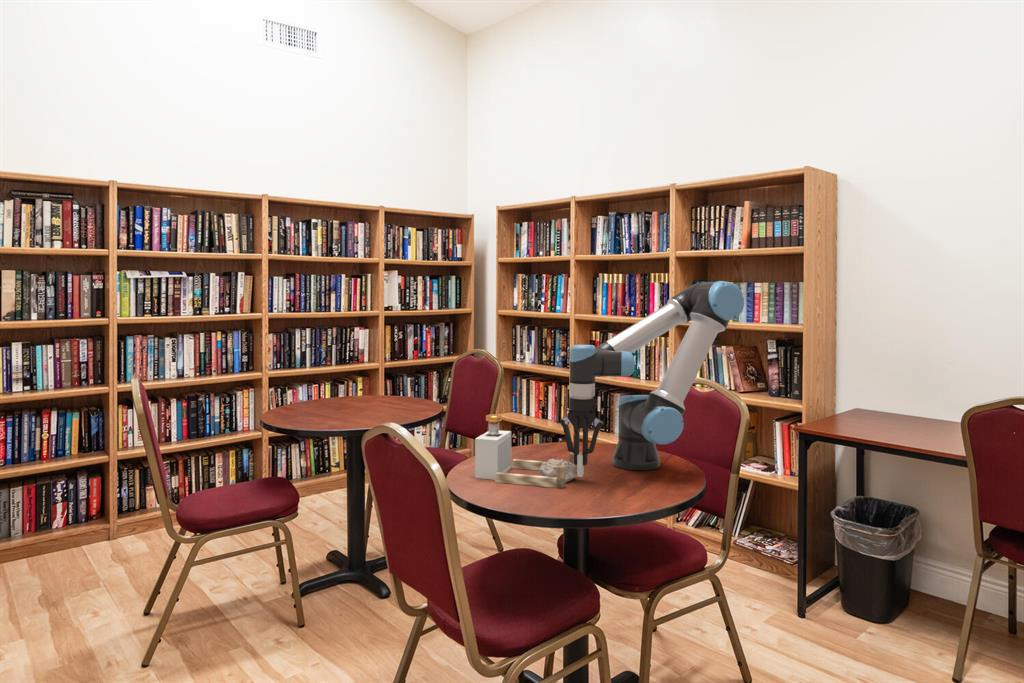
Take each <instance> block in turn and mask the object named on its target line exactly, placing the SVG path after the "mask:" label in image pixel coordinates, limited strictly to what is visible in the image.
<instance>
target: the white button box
mask: <svg viewBox="0 0 1024 683" xmlns="http://www.w3.org/2000/svg"><path fill="white" fill-rule="evenodd" d="M474 445H475V448H474V461H475V462H474V468H475V469H474V478H475V479H482V480H483V479H484V480H494V481H495V474H496V473H497V472H502V473H508V472H509V471H510V470H511V469H512V431H511V430H500V429H499V437H495V436H489V430H488V431H485V433H483V434H480V435H478V436H477V437H476V438H475V439H474Z"/></svg>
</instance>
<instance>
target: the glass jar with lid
mask: <svg viewBox="0 0 1024 683" xmlns="http://www.w3.org/2000/svg"><path fill="white" fill-rule="evenodd" d="M502 419H503V418H502V415H501V414H496V413H493V414H492V413H491V414H486V415H485V421H486V422H488V431H489V436H495V437H499V430H500V422H501V421H502Z"/></svg>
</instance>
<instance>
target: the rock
mask: <svg viewBox="0 0 1024 683" xmlns="http://www.w3.org/2000/svg"><path fill="white" fill-rule="evenodd" d="M557 466H565V484H566V483H568V482H570V481H572V480H573V479H575V478H577V470H576V466H575V465H574V464H572V463H570V462H569V461H567V460H564V459H563V458H562V459H558V458H557V459H554V458H549V459H547V460H546V463H542V465H541V466H540V468H539V470H538V472H537V473H538V475H540V476H548V477H556V473H557Z"/></svg>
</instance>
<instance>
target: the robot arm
mask: <svg viewBox="0 0 1024 683" xmlns="http://www.w3.org/2000/svg"><path fill="white" fill-rule="evenodd" d="M744 307H745V298H744V295H743V292H742V290H741V288H739V286H738V285H736V284H735V283H733V282H731V281H730V282H729V281H726V280H724V281H723V280H717V281H700V282H697V283H695V284H692V285H690V286H689V287H687V288H685V289H683V290H682V291H680V292H678V293H677V294H675V295H674V296H672V297H670V298H669V299H668V300H667V303H666V304H665V305H663V306H661V307H660V308H658V309H657V310H654V312H652V313H650V314H648V315H647V316H645V317H644V318H642V319H640V320H639V321H637V322H636V323H634V324H632V325H631V326H629V327H627V328H626V329H624V330H622V331H621V332H619V333H618V334H616V335H613V337H611V338H609V339H608V340H606V341H605V342H603V343H600V344H599V345H598V346H595V345H593V344H573V345H572V346H571V347H570V351H569V382H568V383H569V384H568V385H569V388H568V390H569V391H568V394H569V395H568V396H570V397H569V399H568V413H567V414H566V415H567V416H566V417H564V418H561V419H560V420H559V423H560V425H561V427H562V431H563V434H564V438H565V443H566V447H567V448H566V449H567V451H568V452H570V453H573V454H574V465H577V474H576V478H577V477H578V478H582V477H583V476H584V470H585V468H584V466H587V464H588V457H589V456H588V455H589V454H593V452H594V451H595V447H596V443H597V440H598V436H599V433H600V430H601V427H602V426H603V424H604V421H603V420H600V419H598V418H597V415H596V412H595V406H596V405H595V404H596V403H595V398H594V397H595V396H596V395H595V394H596V388H595V387H596V377H597V378H600V377H604V378H605V377H611V378H612V377H615V378H616V377H621V378H622V377H630V376H631V375H633V374H634V371H635V367H636V360H635V357H634V355H633V353H634V352H636V351H638V350H639V349H641V348H642V347H644V346H646V345H648V344H649V343H651V342H652V341H653V340H656V339H658V338H659V337H660V336H662V335H664V334H665V333H667V332H669V331H670V330H672V329H673V328H676V327H677V326H679V325H687V324H688V323H689V322H690V323H689V326H688V328H687V330H686V331H685V334H684V336H683V338H682V340H681V342H680V344H679V346H678V348H677V350H676V352H675V354H674V356H673V358H672V360H671V362H670V363H669V366H668V368H667V370H666V371H665V373H664V375H663V378H662V379H661V382H660V383H659V385H658V388H657V389H656V390H652V391H651V392H649V394H634V395H633V394H632V395H631V394H629V395H628V394H627V395H621V396H620V397H619V400H618V406H617V407H618V437H617V438H618V440H617V443H616V447H615V449H614V452H613V455H612V465H613V466H615V467H617V468H619V469H622V470H629V471H650V470H651V471H652V470H656V469H658V468H660V463H661V461H660V456H659V453H658V449H657V445H656V444H658V445H669V444H671V443H673V442H674V441H676V440H677V439H678V438H679V437H680V436H681V434H682V433H683V430H684V426H685V425H684V424H685V423H684V418H683V415H684V412H685V411H686V407H685V405H684V401H685V399H686V397H687V395H688V393H689V392H690V390H691V388H692V386H693V384H694V381H695V380H696V377H697V376H698V373H699V371H700V369H701V367H702V365H703V364H704V361H705V359H706V358H707V355H708V354H709V351H710V350H711V347H712V346H713V344H714V341H715V339H716V338H717V337H718V336H717V335H718V334H719V333H722V332H724V331H726V329H727V327H728V325H729V323H730V321H733V320H735V319H737V318H739V316H740V315H741V314H742V313H743V311H744ZM593 423H594V424H593ZM569 424H571V425H572V427H573V431H574V432H573V440H572V436H571V431H570V427H569ZM591 425H594V429H593V433H592V437H591V440H590V444H589V429H590V427H591ZM581 429H582V447H581V448H582V450H580V434H581V432H580V431H581ZM580 451H582V452H580Z"/></svg>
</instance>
